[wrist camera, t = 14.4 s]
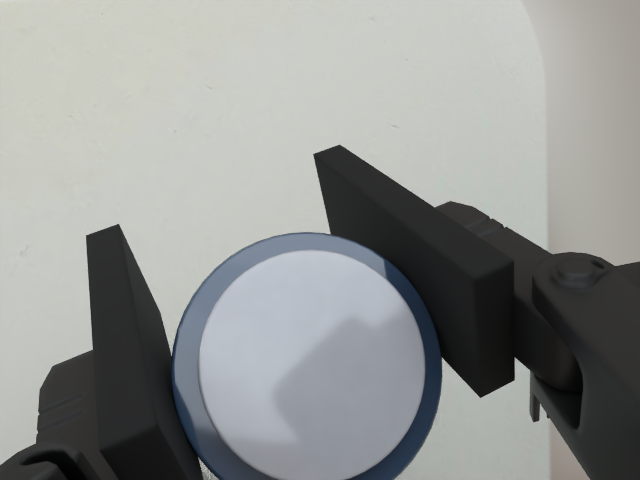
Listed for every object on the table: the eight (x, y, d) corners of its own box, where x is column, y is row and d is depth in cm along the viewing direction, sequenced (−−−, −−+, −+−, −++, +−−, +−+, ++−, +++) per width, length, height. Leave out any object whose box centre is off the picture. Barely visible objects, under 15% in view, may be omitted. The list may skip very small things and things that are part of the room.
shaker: (323, 273, 17) (378, 186, 10) (390, 419, 16) (503, 434, 9) (176, 334, 16) (123, 284, 9) (238, 495, 15) (233, 581, 8)
